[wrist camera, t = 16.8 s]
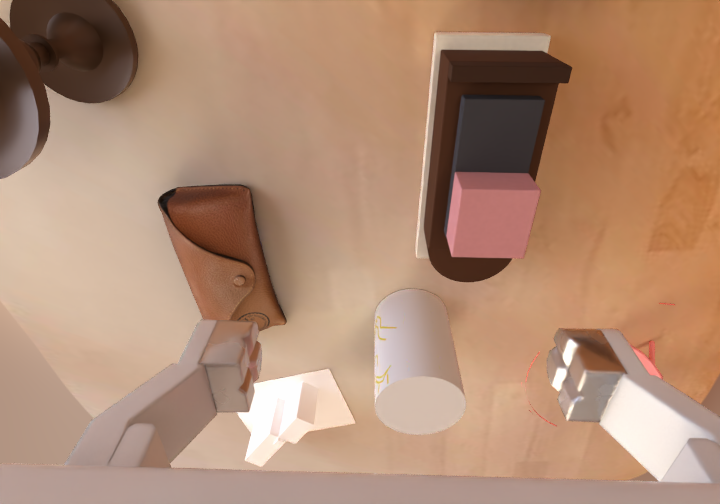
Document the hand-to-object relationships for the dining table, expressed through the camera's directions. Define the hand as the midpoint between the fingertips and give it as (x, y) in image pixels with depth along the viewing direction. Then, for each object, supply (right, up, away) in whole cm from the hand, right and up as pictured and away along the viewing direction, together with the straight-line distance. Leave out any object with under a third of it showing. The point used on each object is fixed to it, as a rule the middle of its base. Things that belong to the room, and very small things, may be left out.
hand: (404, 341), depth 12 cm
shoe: (+9, +11, +27) cm, 31 cm away
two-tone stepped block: (+8, +9, +22) cm, 25 cm away
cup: (+4, -5, +38) cm, 39 cm away
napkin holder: (-11, -18, +47) cm, 52 cm away
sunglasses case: (-14, +2, +35) cm, 37 cm away
